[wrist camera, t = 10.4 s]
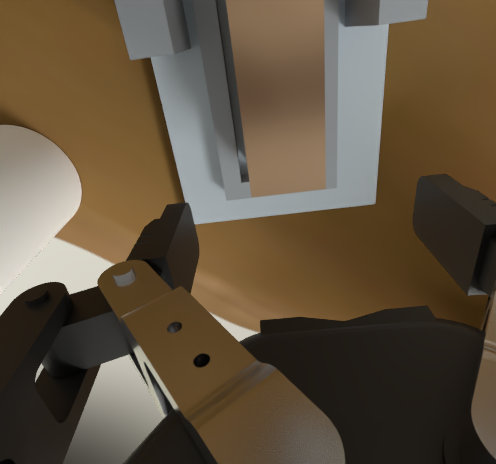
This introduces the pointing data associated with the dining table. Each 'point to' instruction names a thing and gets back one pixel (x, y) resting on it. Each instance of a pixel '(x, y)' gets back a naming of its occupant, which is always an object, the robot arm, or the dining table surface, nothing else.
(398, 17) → the jig
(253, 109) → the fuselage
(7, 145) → the cup
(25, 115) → the dining table surface
